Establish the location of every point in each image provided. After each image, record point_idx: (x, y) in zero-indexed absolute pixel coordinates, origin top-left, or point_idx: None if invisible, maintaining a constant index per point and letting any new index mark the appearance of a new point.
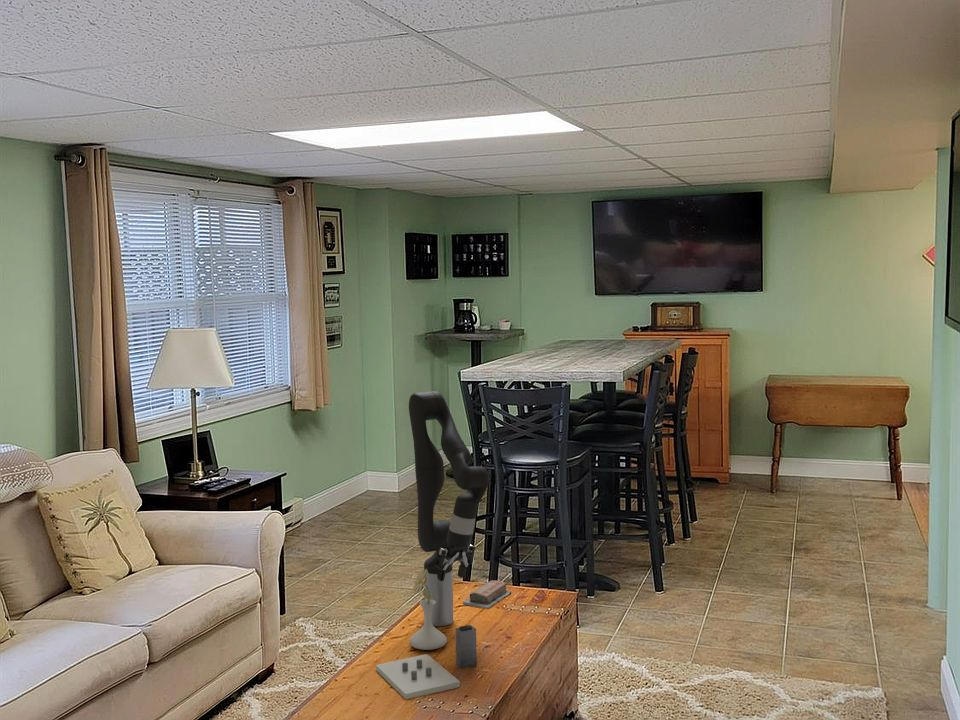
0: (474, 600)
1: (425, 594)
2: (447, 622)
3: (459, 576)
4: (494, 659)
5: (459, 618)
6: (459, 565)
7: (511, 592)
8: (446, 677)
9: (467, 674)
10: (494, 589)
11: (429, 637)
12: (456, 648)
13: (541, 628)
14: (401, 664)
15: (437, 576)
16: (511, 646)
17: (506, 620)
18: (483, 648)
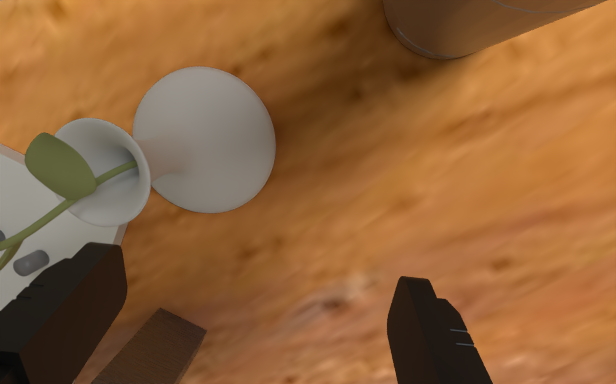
0: None
1: (43, 175)
2: (430, 55)
3: (395, 299)
4: (262, 372)
5: (537, 41)
6: (438, 381)
7: None
8: None
9: None
10: None
11: (160, 183)
12: (126, 345)
13: (585, 375)
14: (14, 198)
15: (45, 273)
16: (377, 367)
17: (610, 230)
18: (312, 305)
